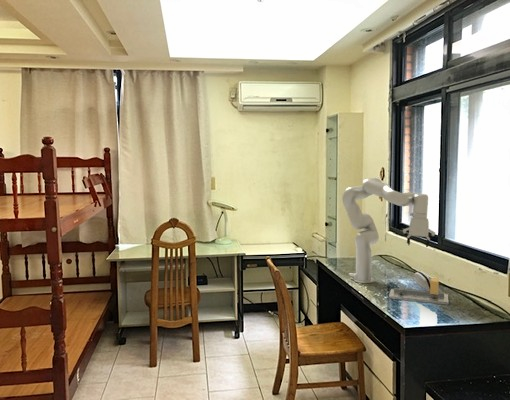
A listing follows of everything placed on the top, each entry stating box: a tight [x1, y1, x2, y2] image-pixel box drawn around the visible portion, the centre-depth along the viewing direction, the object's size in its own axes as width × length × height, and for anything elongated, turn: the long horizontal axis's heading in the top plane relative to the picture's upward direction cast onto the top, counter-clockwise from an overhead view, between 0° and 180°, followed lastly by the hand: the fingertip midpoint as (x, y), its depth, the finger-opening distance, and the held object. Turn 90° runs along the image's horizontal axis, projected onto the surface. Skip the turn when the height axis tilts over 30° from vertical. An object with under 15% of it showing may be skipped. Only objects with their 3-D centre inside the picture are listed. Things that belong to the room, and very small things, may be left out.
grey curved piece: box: [414, 270, 431, 291], centre depth 259 cm, size 17×5×10 cm, turn 2°
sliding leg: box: [430, 277, 440, 298], centre depth 237 cm, size 4×7×9 cm, turn 158°
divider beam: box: [393, 285, 445, 297], centre depth 241 cm, size 26×7×3 cm, turn 68°
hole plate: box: [388, 288, 450, 306], centre depth 240 cm, size 30×14×2 cm, turn 68°
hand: (417, 245), depth 247 cm, fingers open, 9 cm apart
